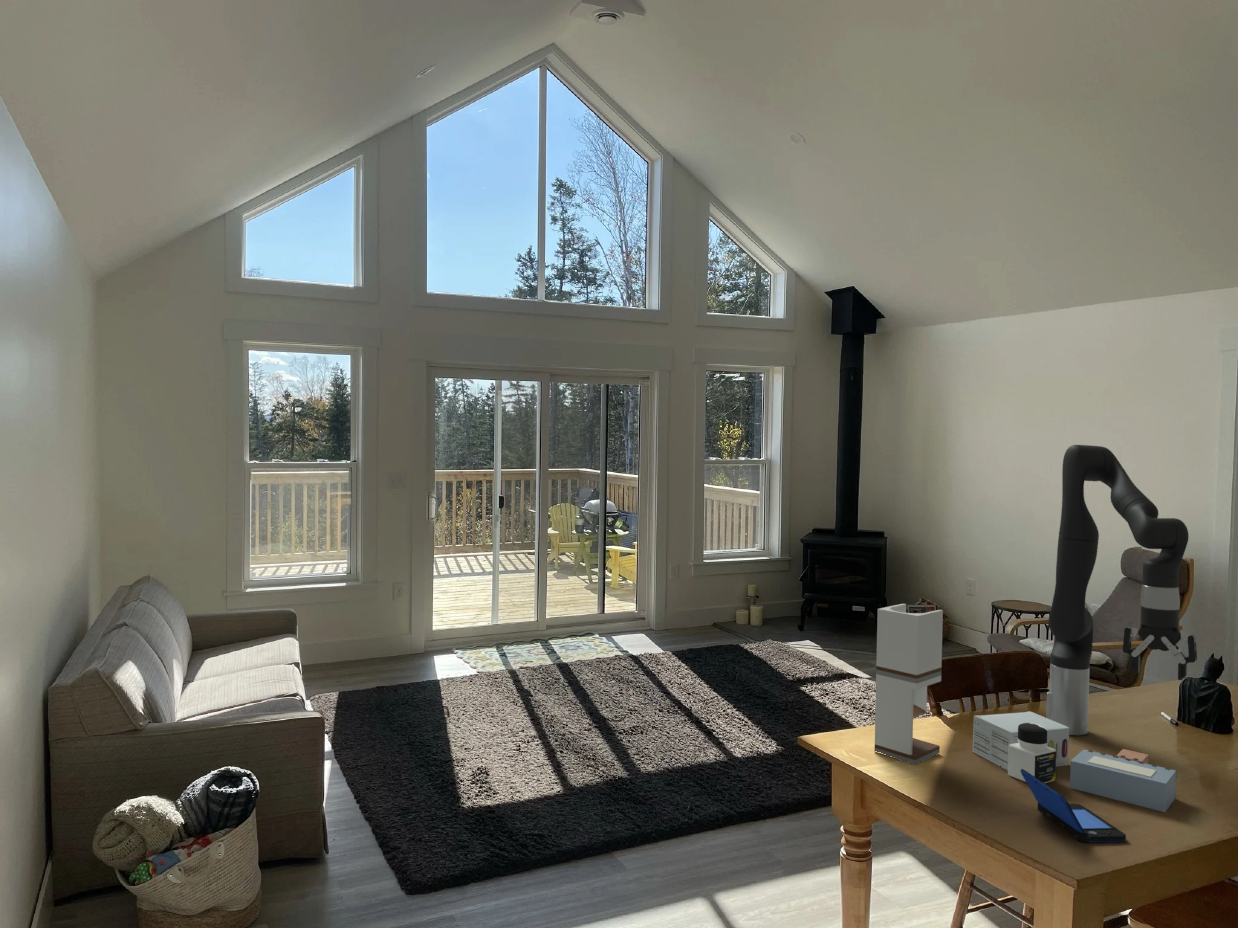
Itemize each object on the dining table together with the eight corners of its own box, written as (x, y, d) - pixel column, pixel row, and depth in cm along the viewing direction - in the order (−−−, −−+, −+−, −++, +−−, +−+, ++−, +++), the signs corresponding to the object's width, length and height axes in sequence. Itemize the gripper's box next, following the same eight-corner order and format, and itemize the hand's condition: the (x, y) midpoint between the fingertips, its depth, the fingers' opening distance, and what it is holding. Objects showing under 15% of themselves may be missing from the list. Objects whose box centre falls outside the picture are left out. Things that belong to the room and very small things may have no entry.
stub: (1115, 782, 194) (1116, 754, 194) (1122, 774, 199) (1123, 747, 198) (1141, 788, 191) (1141, 760, 191) (1147, 780, 195) (1148, 753, 195)
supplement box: (1009, 772, 200) (1010, 732, 200) (971, 752, 212) (972, 714, 212) (1069, 766, 204) (1070, 726, 204) (1029, 746, 217) (1030, 709, 217)
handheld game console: (1129, 843, 165) (1130, 795, 165) (1062, 845, 164) (1063, 797, 163) (1078, 808, 180) (1080, 764, 180) (1017, 810, 179) (1018, 765, 179)
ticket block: (1069, 787, 191) (1070, 759, 191) (1082, 775, 198) (1083, 748, 198) (1165, 812, 179) (1166, 782, 178) (1175, 798, 186) (1176, 769, 186)
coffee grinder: (914, 764, 203) (918, 615, 202) (874, 752, 211) (877, 608, 210) (939, 753, 211) (942, 610, 210) (899, 742, 219) (902, 603, 218)
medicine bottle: (1034, 786, 191) (1036, 732, 191) (1007, 775, 198) (1008, 722, 197) (1056, 780, 195) (1057, 727, 194) (1028, 769, 201) (1029, 718, 201)
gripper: (1120, 603, 201) (1119, 673, 201) (1194, 611, 191) (1192, 685, 191) (1128, 599, 206) (1127, 667, 207) (1199, 607, 197) (1198, 678, 197)
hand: (1158, 675), depth 199 cm, fingers open, 8 cm apart
